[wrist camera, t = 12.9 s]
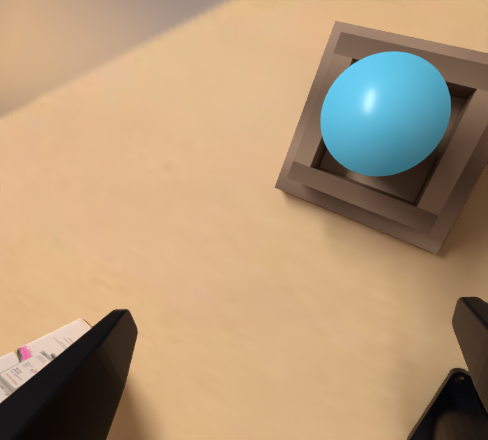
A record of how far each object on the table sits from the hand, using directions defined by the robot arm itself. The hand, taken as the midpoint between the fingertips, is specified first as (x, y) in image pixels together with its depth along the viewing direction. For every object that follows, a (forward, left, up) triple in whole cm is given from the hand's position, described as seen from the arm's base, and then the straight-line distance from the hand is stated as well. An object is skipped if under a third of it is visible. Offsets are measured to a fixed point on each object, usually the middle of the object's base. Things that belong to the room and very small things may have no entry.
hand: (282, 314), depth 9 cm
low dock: (+6, 0, -13) cm, 14 cm away
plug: (+6, 0, -12) cm, 13 cm away
